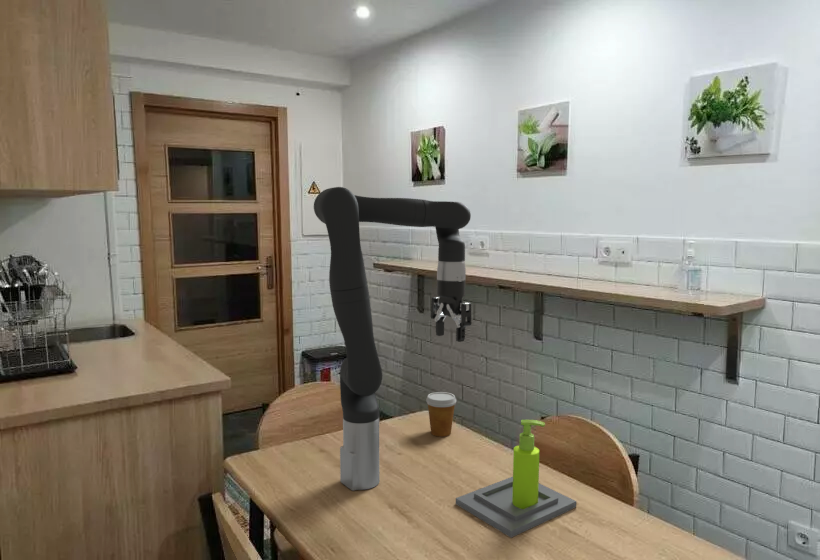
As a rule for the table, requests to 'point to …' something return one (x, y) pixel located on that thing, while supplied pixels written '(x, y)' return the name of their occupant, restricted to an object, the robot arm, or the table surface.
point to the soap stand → (513, 507)
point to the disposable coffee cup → (441, 413)
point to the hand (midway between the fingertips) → (449, 338)
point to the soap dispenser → (526, 467)
